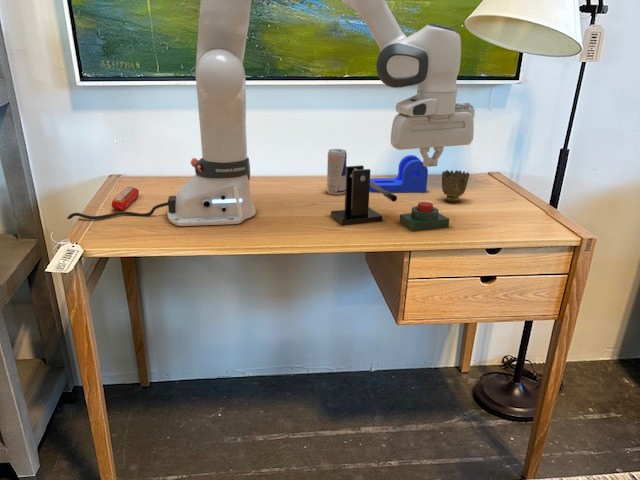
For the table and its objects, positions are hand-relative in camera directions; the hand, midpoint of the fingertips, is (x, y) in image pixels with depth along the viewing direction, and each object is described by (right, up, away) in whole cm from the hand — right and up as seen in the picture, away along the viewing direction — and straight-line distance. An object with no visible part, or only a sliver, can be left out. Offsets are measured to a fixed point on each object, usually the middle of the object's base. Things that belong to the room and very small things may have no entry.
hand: (430, 166), depth 139 cm
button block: (0, -13, +7) cm, 15 cm away
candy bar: (-79, -5, +20) cm, 81 cm away
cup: (+11, -3, +26) cm, 28 cm away
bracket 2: (-4, +3, +37) cm, 37 cm away
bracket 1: (-17, -11, +11) cm, 23 cm away
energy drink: (-21, 0, +32) cm, 38 cm away
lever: (-13, -4, +9) cm, 16 cm away
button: (0, -10, +5) cm, 11 cm away
